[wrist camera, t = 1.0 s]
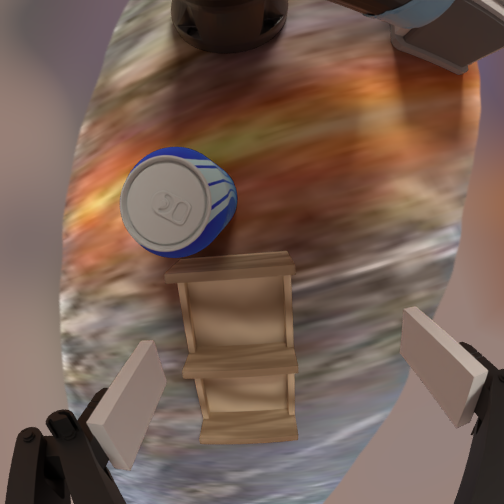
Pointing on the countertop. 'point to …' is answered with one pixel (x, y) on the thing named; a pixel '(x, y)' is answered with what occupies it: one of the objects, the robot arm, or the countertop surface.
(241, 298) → the rack
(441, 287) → the countertop surface
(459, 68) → the alarm clock
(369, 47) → the countertop surface
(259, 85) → the countertop surface
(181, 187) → the beer can
